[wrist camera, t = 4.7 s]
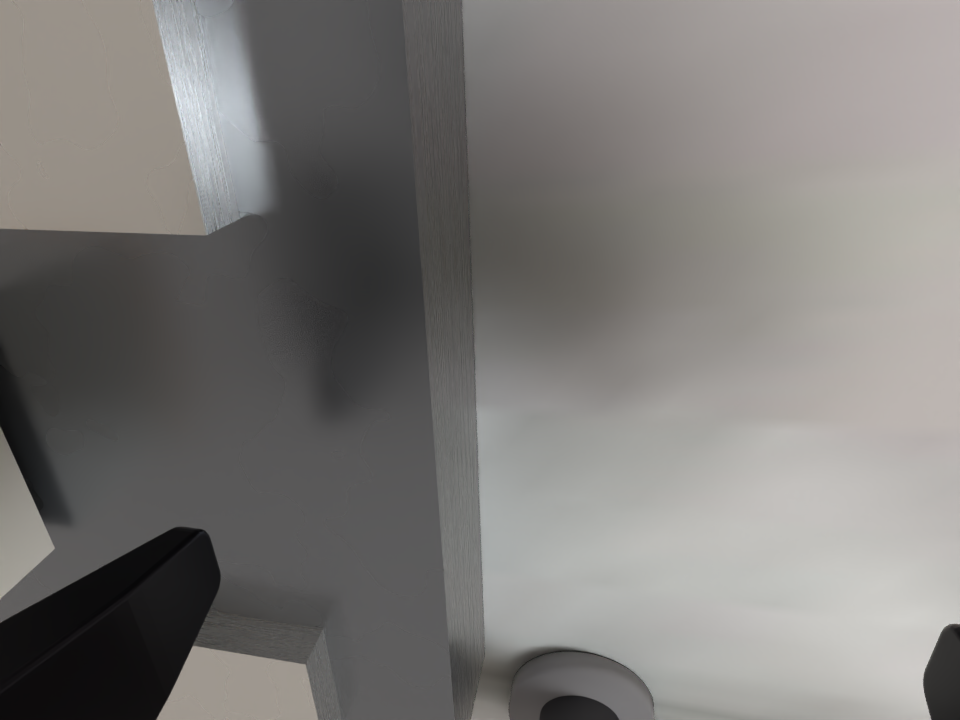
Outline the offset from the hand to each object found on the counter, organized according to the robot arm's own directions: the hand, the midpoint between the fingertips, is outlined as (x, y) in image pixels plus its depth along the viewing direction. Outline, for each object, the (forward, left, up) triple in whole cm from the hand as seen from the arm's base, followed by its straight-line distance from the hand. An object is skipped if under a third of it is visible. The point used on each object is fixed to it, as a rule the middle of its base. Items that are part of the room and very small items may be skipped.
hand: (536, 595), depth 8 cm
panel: (0, +8, -5) cm, 9 cm away
